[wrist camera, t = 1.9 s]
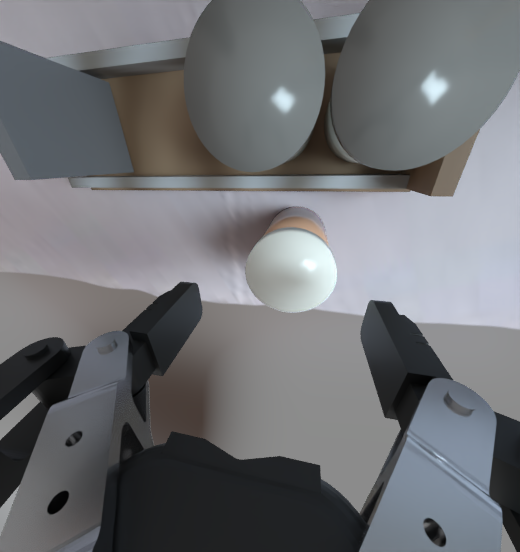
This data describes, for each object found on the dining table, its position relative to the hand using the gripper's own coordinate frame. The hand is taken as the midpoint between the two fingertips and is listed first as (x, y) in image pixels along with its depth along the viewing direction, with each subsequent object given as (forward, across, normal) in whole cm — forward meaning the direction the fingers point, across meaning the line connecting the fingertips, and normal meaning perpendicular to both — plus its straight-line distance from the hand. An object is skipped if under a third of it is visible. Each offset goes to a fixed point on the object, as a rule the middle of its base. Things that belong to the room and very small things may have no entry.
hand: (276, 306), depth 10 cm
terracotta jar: (+11, 0, 0) cm, 11 cm away
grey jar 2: (+10, -4, -8) cm, 14 cm away
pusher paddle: (+10, +15, -8) cm, 20 cm away
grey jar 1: (+10, +1, -8) cm, 13 cm away
